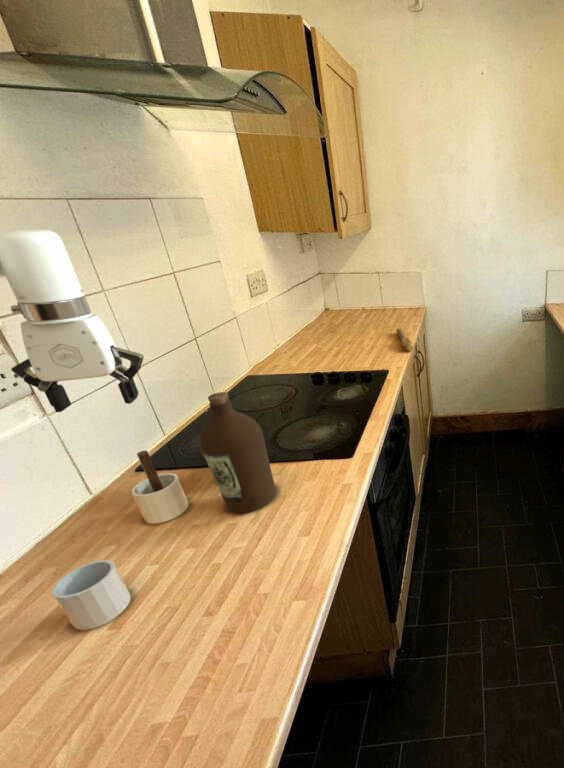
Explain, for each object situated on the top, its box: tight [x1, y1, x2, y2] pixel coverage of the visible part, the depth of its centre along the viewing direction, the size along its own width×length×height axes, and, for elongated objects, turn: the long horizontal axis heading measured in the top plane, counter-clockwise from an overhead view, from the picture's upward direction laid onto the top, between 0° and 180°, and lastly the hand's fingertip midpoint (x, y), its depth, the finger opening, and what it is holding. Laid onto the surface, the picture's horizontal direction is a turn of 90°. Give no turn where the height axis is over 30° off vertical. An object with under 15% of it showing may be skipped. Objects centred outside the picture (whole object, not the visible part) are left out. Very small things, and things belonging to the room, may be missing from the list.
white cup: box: [131, 472, 189, 525], centre depth 85 cm, size 7×7×7 cm
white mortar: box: [51, 559, 132, 631], centre depth 64 cm, size 7×7×7 cm
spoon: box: [136, 449, 164, 492], centre depth 84 cm, size 4×2×14 cm, turn 110°
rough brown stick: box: [395, 327, 413, 353], centre depth 188 cm, size 3×3×30 cm
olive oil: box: [199, 391, 277, 514], centre depth 85 cm, size 11×11×25 cm
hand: (98, 404), depth 74 cm, fingers open, 9 cm apart
